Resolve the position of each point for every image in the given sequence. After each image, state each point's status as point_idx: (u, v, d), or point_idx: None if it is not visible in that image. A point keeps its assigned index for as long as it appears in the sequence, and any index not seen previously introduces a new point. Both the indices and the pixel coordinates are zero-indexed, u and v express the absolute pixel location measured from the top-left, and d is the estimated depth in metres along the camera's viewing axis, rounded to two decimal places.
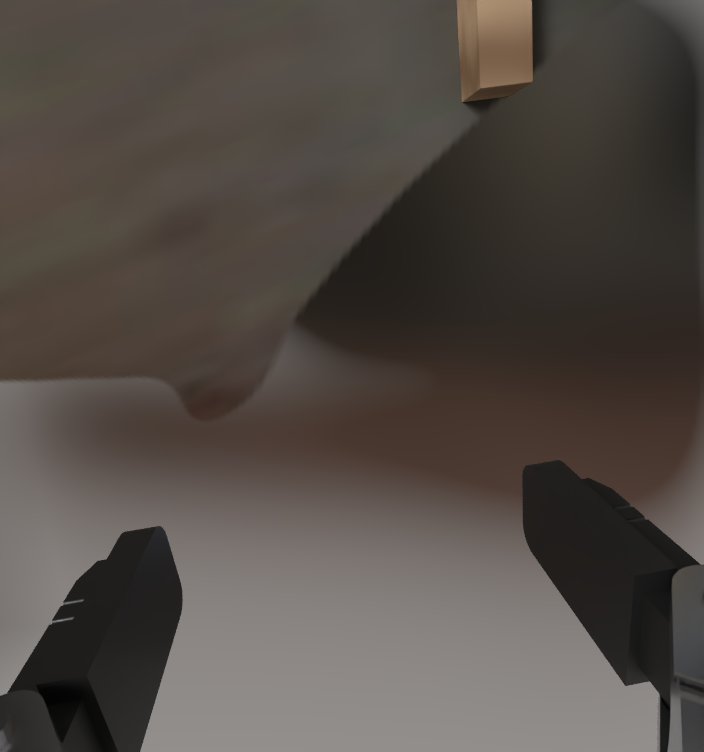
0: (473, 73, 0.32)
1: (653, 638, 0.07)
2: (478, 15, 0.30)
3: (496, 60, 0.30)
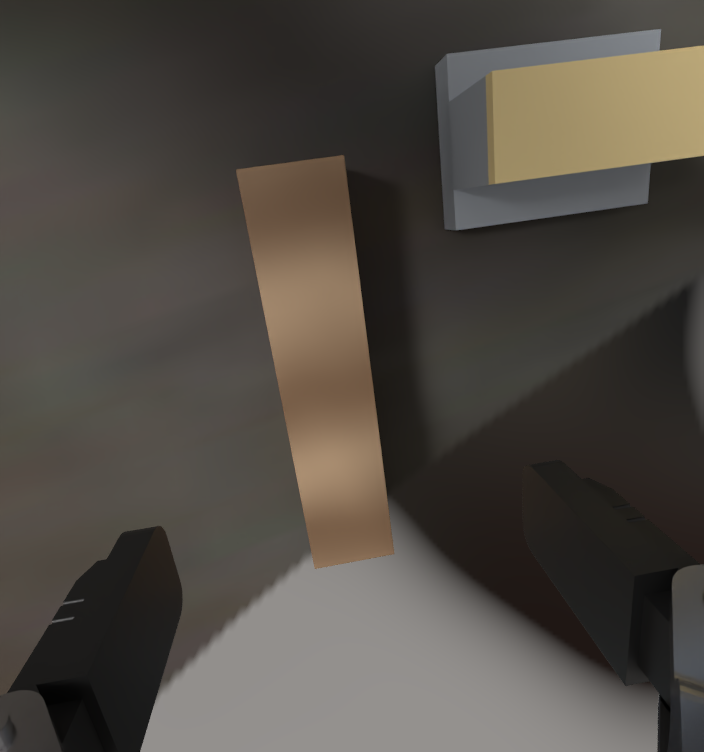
0: None
1: (653, 638, 0.07)
2: (301, 489, 0.19)
3: (336, 536, 0.20)
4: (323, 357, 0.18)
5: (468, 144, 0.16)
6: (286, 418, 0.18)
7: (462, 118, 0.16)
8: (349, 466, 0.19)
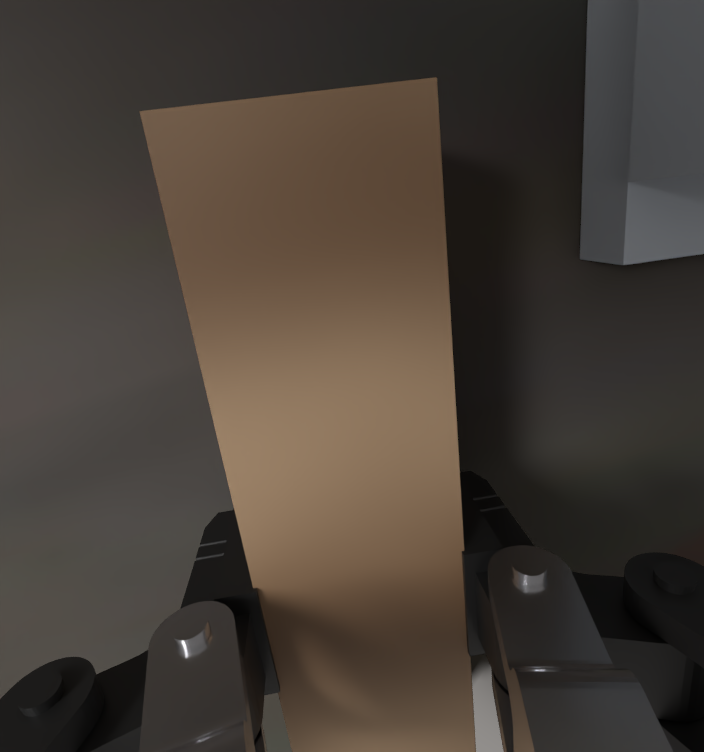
0: None
1: (482, 611, 0.08)
2: None
3: None
4: (361, 557, 0.08)
5: None
6: (277, 675, 0.08)
7: (698, 6, 0.07)
8: (408, 751, 0.09)
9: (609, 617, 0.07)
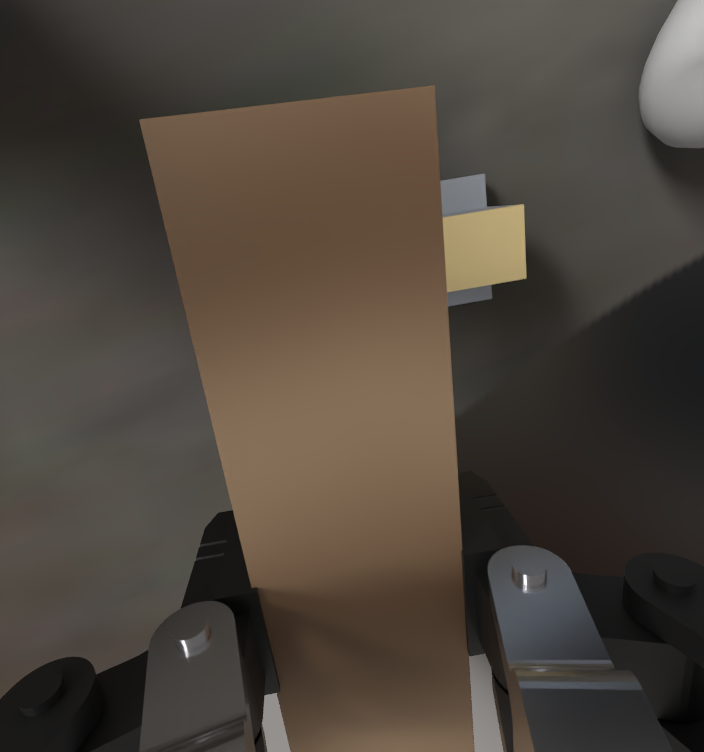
0: None
1: (482, 611, 0.08)
2: None
3: None
4: (360, 561, 0.08)
5: None
6: None
7: None
8: None
9: (609, 617, 0.07)
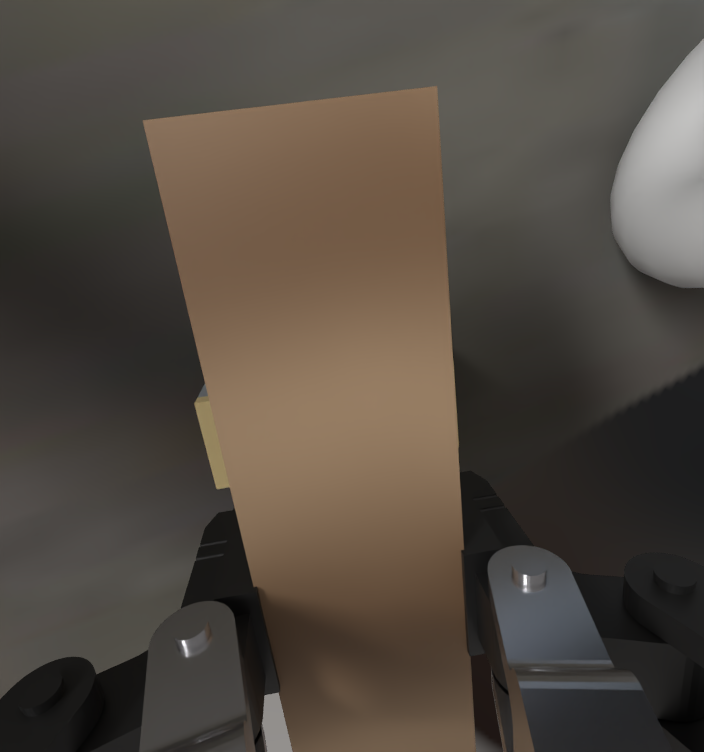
0: None
1: (481, 611, 0.08)
2: None
3: None
4: (362, 561, 0.08)
5: None
6: None
7: None
8: None
9: (609, 617, 0.07)
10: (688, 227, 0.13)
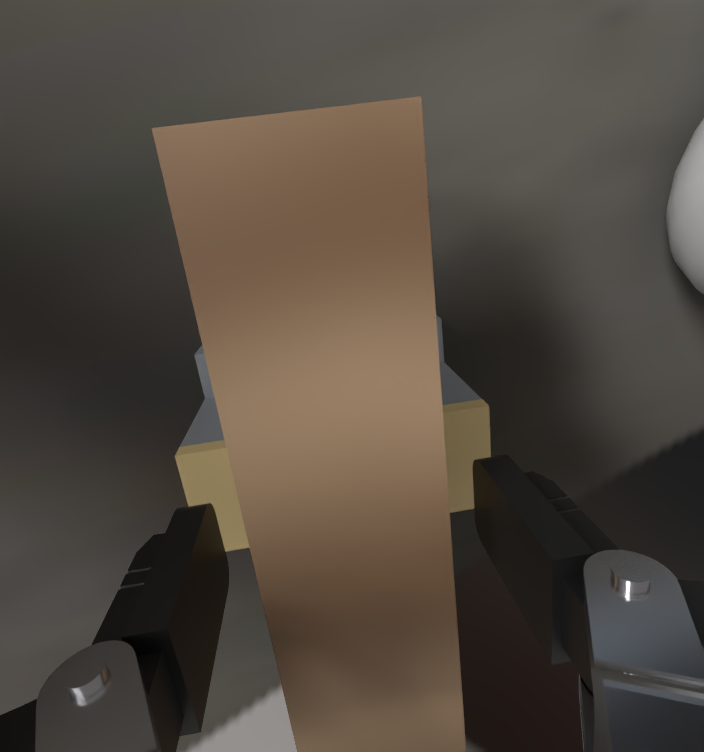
0: None
1: (571, 618, 0.08)
2: None
3: None
4: (355, 538, 0.08)
5: None
6: (276, 650, 0.09)
7: None
8: (400, 725, 0.10)
9: None
10: None
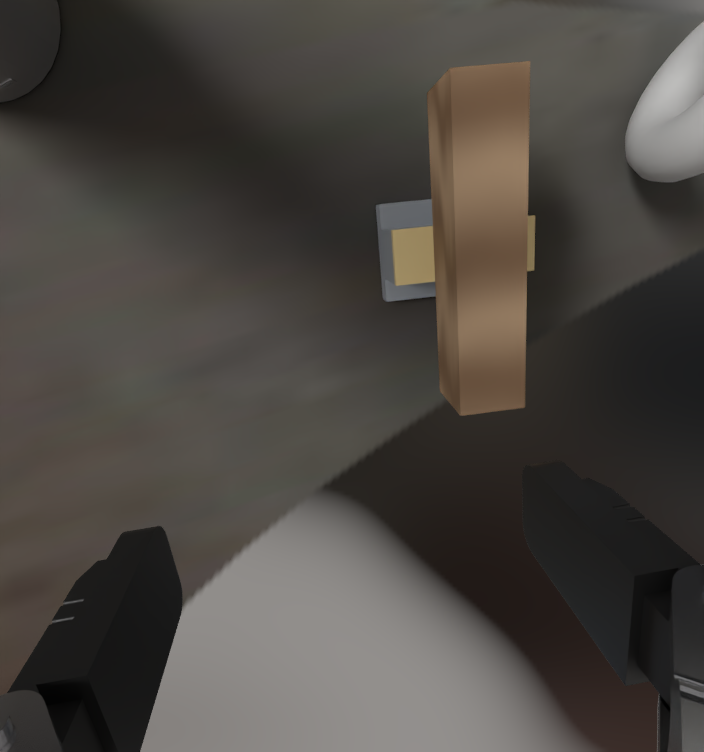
0: (453, 388, 0.26)
1: (653, 638, 0.07)
2: (460, 342, 0.24)
3: (481, 387, 0.25)
4: (492, 227, 0.22)
5: (387, 258, 0.28)
6: (457, 278, 0.23)
7: (385, 243, 0.29)
8: (500, 324, 0.24)
9: None
10: (667, 140, 0.25)
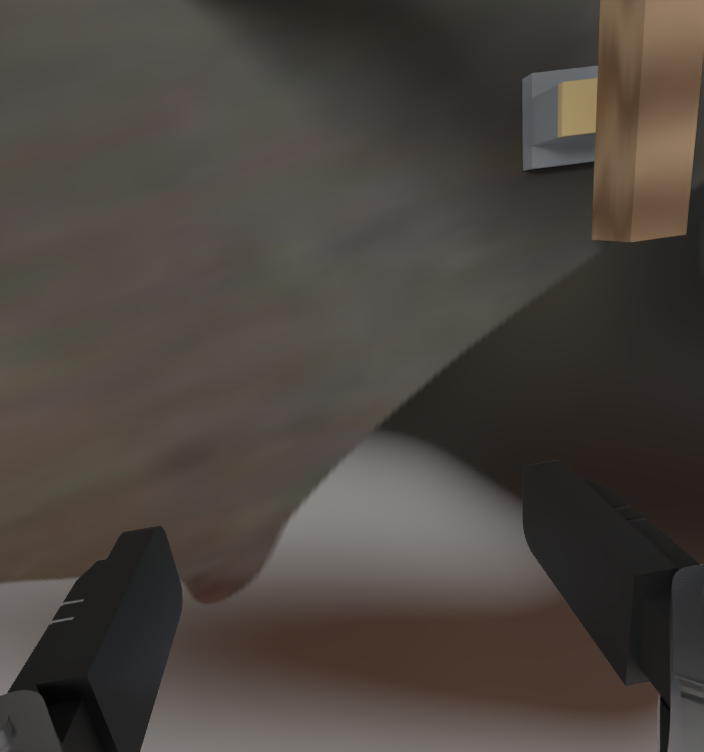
0: (619, 222, 0.29)
1: (653, 638, 0.07)
2: (636, 170, 0.27)
3: (650, 214, 0.28)
4: (673, 58, 0.26)
5: (544, 119, 0.32)
6: (639, 107, 0.26)
7: (541, 106, 0.32)
8: (672, 152, 0.27)
9: None
10: None
